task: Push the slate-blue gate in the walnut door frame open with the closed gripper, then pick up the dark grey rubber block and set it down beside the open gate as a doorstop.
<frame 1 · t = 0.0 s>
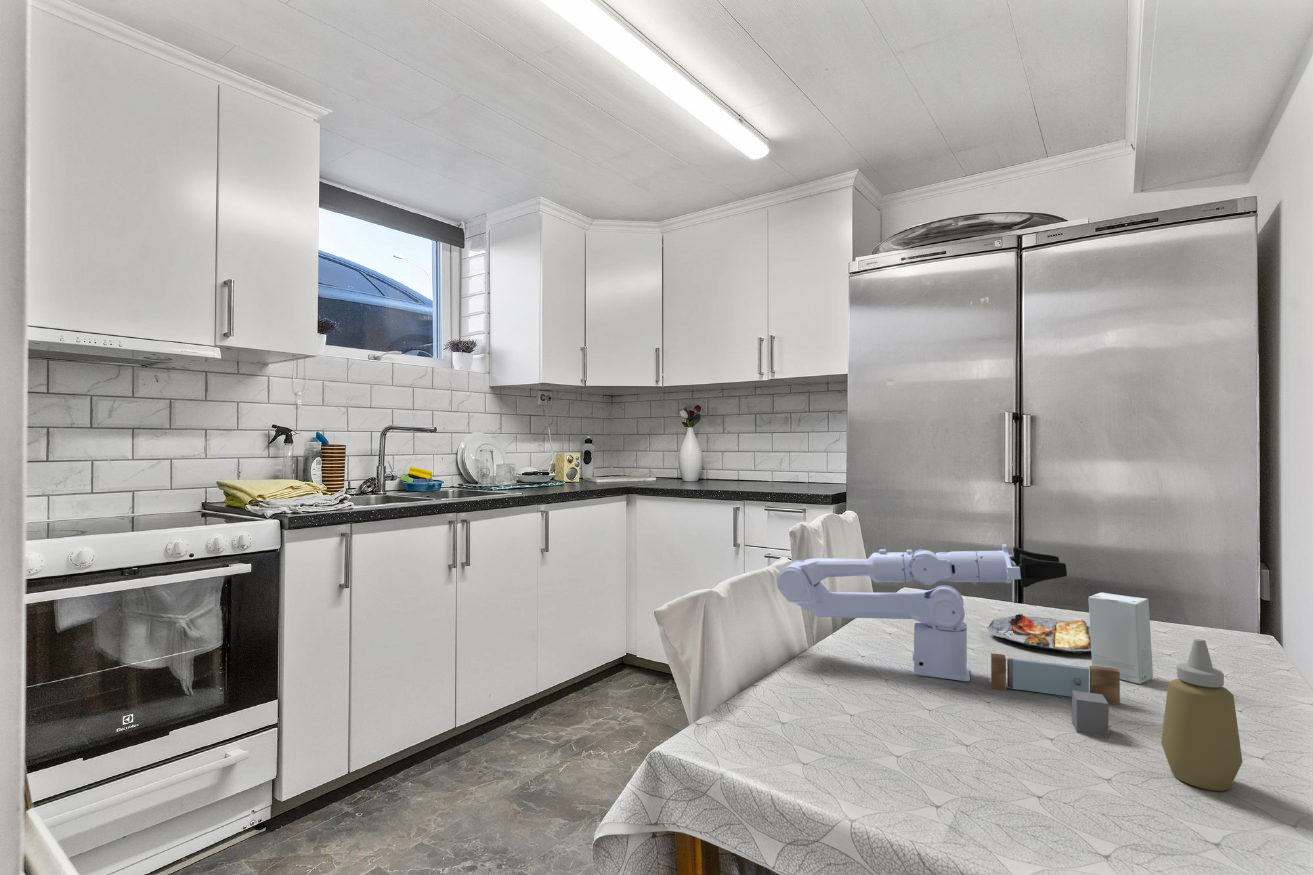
hand: (1062, 565, 116), 22 cm above the table, tool horizontal, fingers open, 7 cm apart
skincare box: (1120, 676, 123), on the table
door: (1047, 678, 113), point 3 cm above the table, hinge at 0.0°
door frame: (1046, 693, 114), on the table
food plate: (1048, 641, 145), on the table
squeeze bottle: (1200, 781, 84), on the table
doorstop: (1089, 729, 99), on the table
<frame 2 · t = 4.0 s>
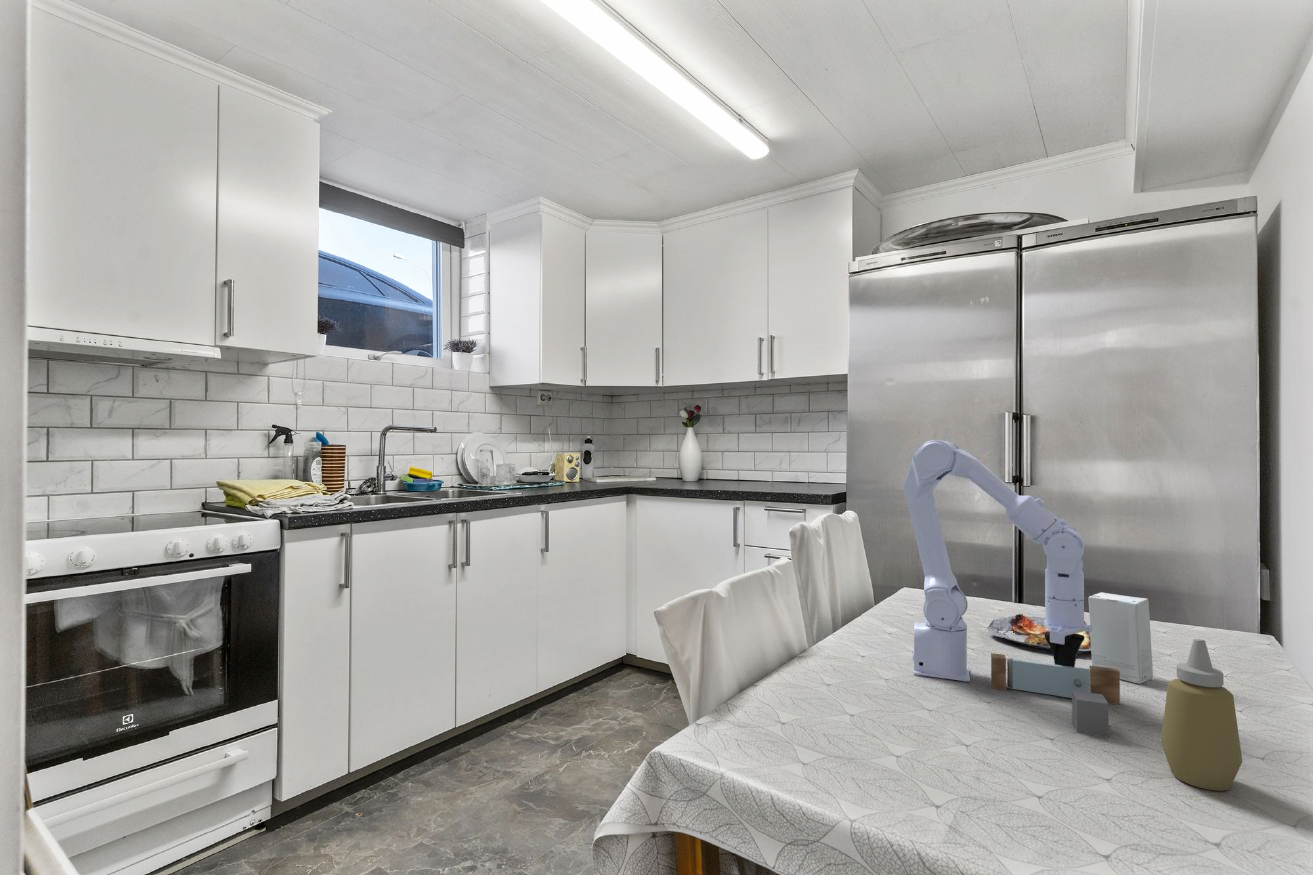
hand: (1064, 675, 113), 3 cm above the table, tool pointing down, fingers closed, pressing on door
door: (1047, 679, 113), point 3 cm above the table, hinge at 4.3°, touching gripper
everything else where it was.
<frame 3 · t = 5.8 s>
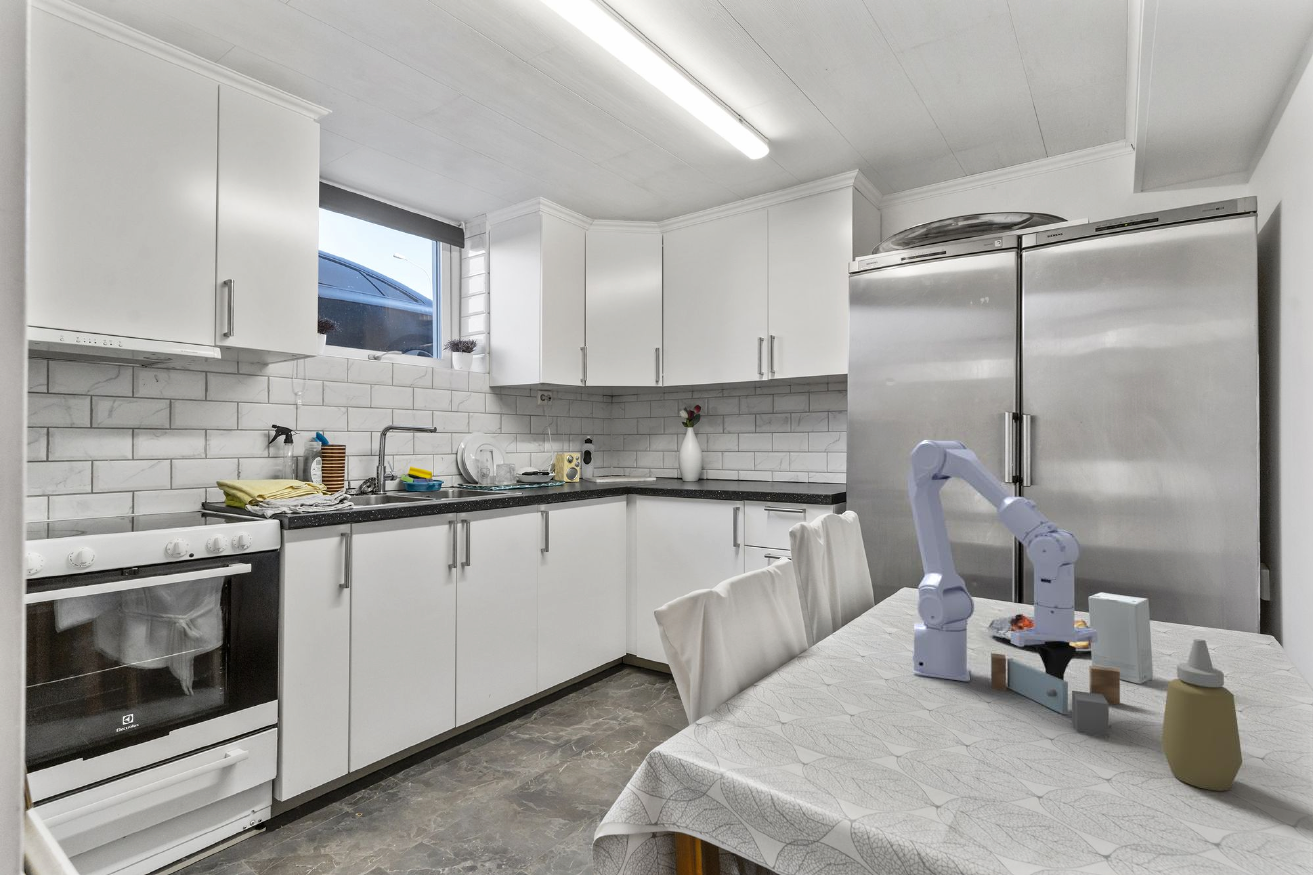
hand: (1054, 686, 108), 3 cm above the table, tool pointing down, fingers closed, pressing on door
door: (1032, 684, 110), point 3 cm above the table, hinge at 53.5°, touching gripper
everything else where it was.
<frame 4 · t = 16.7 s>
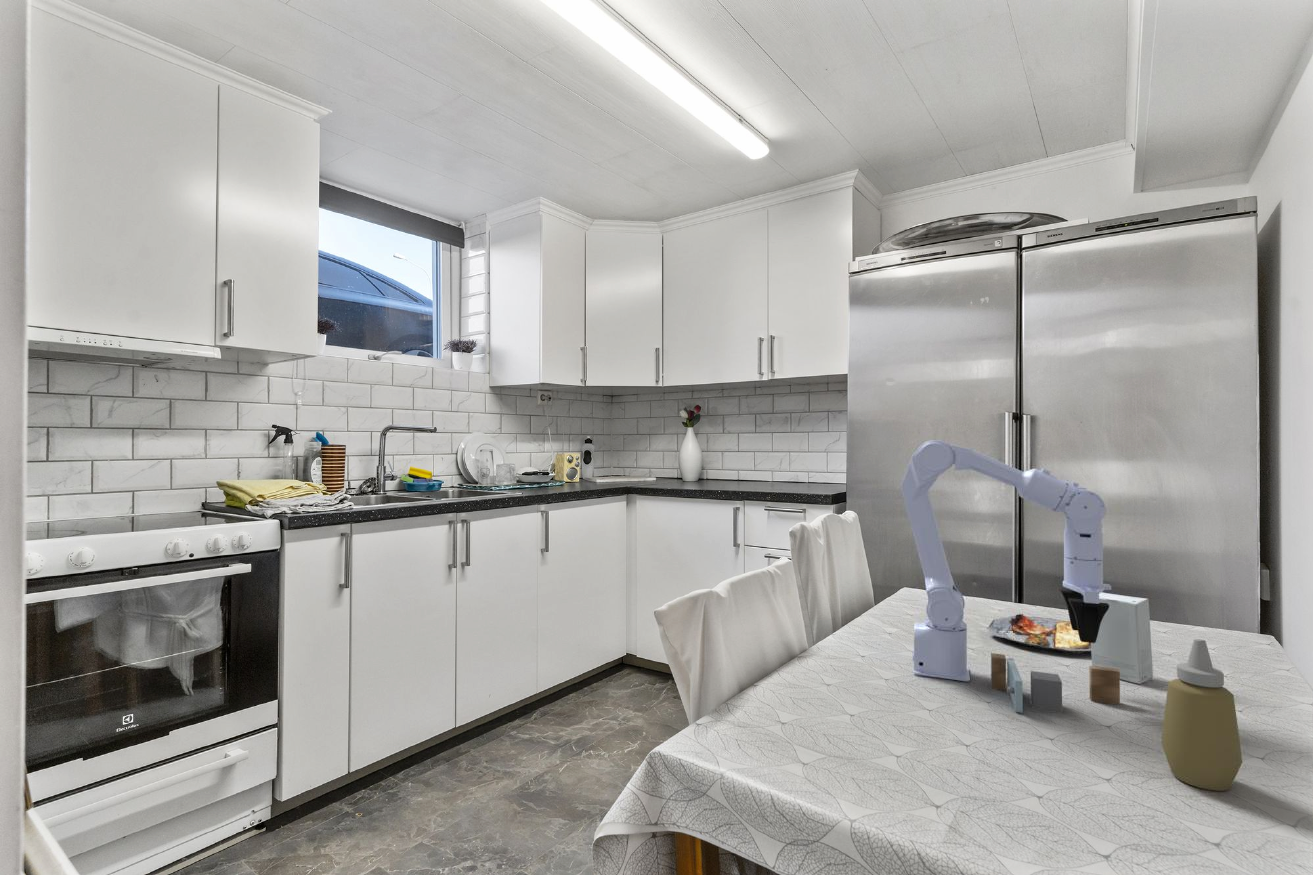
hand: (1083, 635, 114), 10 cm above the table, tool pointing down, fingers open, 7 cm apart
door: (1011, 683, 111), point 3 cm above the table, hinge at 88.8°
doorstop: (1046, 706, 108), on the table
everything else where it was.
at the end: door at +89° (first picture: +0°); doorstop 0.2 cm from the target spot, on the table; doorstop tilted 0° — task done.
